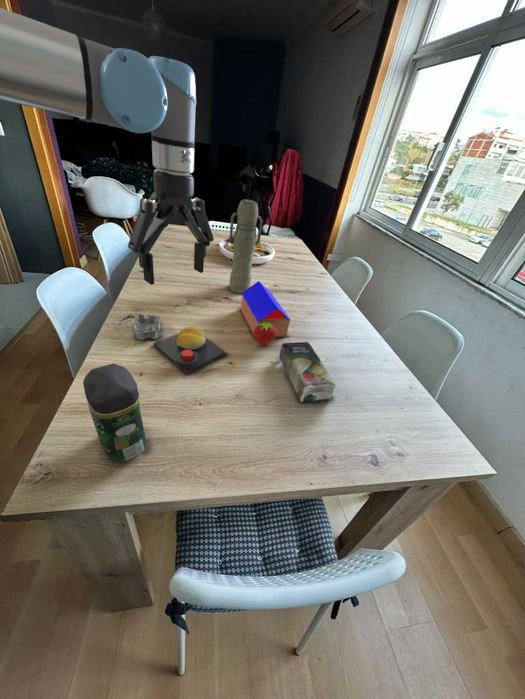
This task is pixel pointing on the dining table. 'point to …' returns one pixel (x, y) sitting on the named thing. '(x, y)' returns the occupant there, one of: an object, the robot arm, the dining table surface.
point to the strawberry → (265, 333)
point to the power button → (187, 355)
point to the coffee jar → (115, 411)
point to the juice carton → (306, 372)
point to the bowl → (260, 254)
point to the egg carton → (147, 326)
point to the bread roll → (191, 338)
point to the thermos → (244, 244)
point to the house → (263, 309)
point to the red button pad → (200, 355)
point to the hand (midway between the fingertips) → (175, 276)
